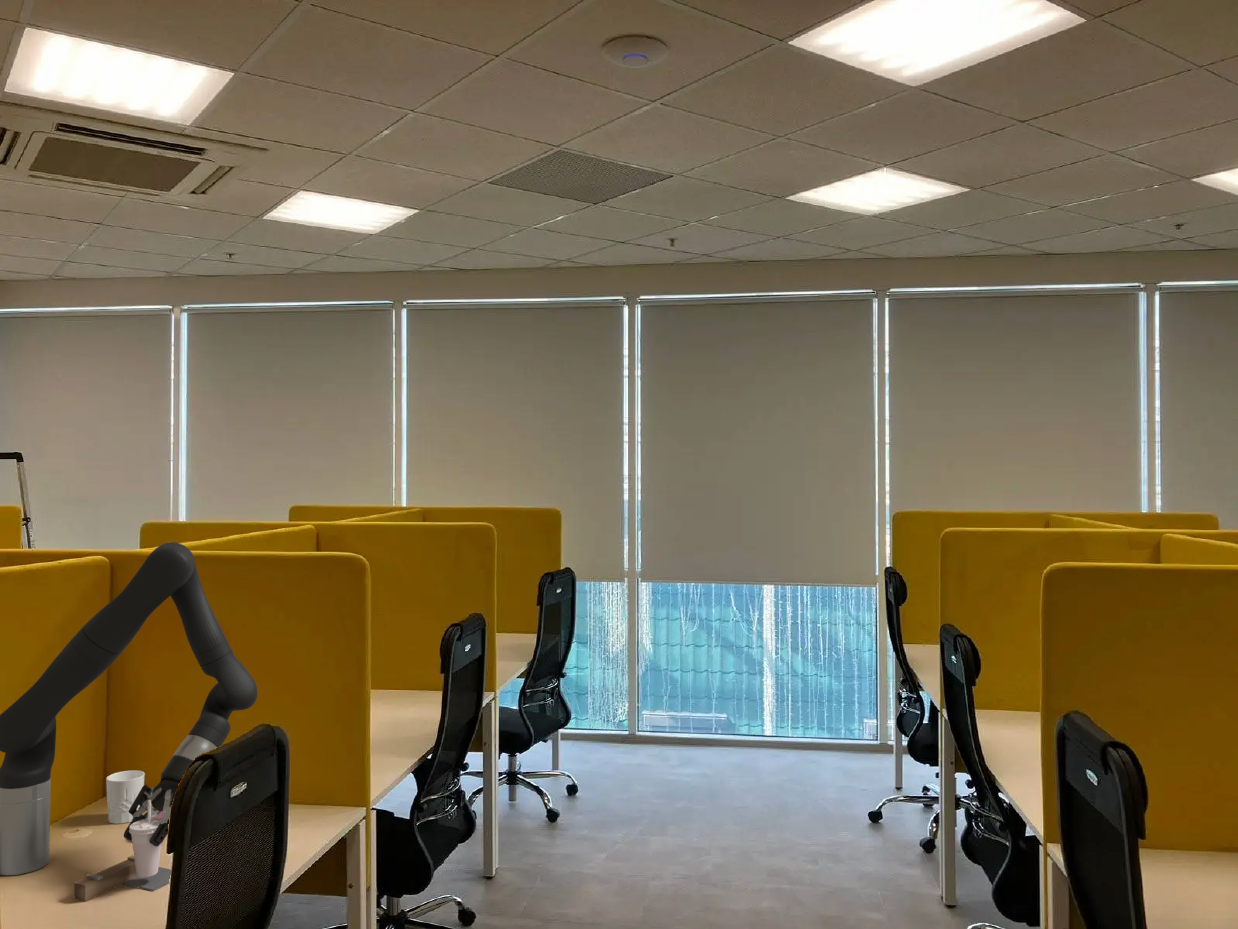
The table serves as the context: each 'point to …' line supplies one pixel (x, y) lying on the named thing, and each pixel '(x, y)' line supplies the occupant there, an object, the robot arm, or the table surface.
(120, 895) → the table surface
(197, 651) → the robot arm
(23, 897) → the table surface
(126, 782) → the white cup
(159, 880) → the end pad
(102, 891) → the guide rail
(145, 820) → the smoothie
